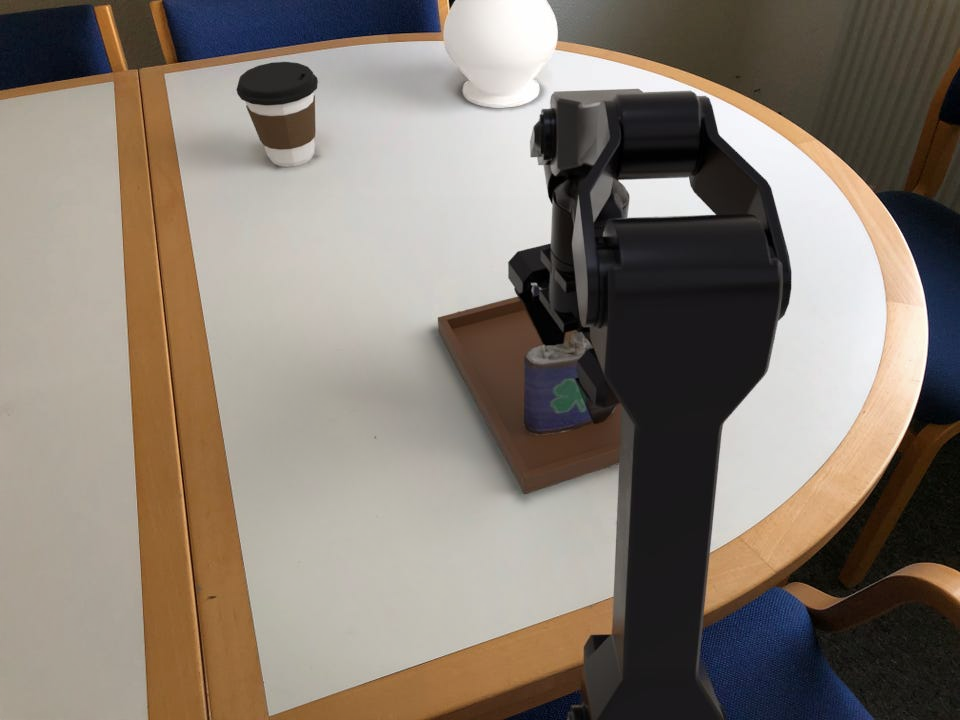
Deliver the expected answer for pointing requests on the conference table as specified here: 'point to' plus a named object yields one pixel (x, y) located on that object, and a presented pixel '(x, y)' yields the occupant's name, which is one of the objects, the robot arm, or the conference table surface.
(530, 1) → the decorative vase
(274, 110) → the coffee cup
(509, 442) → the serving tray
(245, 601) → the conference table surface
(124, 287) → the conference table surface
